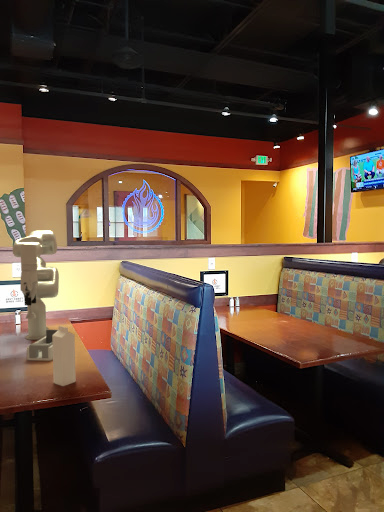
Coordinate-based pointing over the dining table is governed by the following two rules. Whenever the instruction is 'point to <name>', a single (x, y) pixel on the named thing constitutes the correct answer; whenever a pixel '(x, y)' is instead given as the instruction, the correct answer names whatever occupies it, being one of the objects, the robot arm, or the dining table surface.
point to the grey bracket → (44, 354)
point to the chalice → (33, 293)
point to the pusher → (49, 336)
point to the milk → (63, 357)
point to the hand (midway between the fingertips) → (30, 303)
